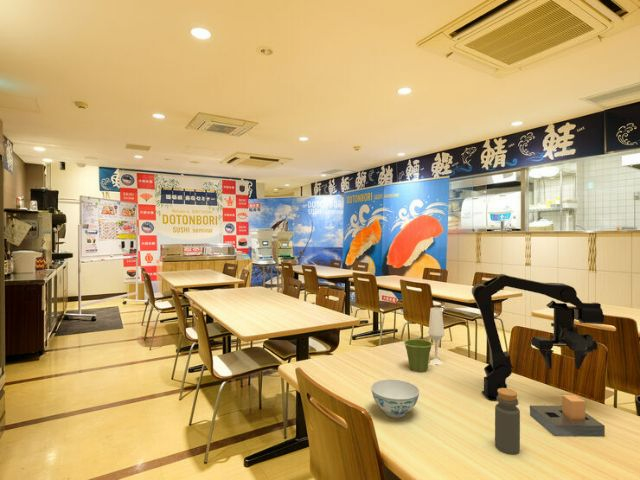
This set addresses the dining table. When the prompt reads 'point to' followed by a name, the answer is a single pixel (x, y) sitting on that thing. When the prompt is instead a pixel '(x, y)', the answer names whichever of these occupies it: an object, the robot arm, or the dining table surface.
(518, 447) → the bottle
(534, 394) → the dining table surface
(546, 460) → the dining table surface
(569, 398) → the peg
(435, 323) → the champagne flute
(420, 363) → the plant pot
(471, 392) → the dining table surface
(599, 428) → the socket plate
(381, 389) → the chinaware
